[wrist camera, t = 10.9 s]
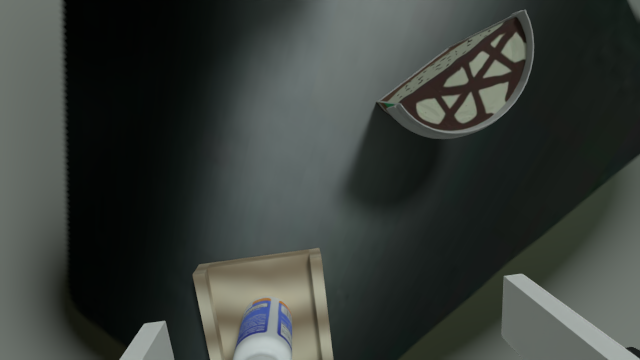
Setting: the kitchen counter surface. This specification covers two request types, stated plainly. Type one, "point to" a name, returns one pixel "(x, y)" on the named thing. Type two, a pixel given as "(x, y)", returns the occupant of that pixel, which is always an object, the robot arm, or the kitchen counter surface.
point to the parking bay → (258, 281)
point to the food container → (466, 82)
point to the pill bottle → (265, 331)
